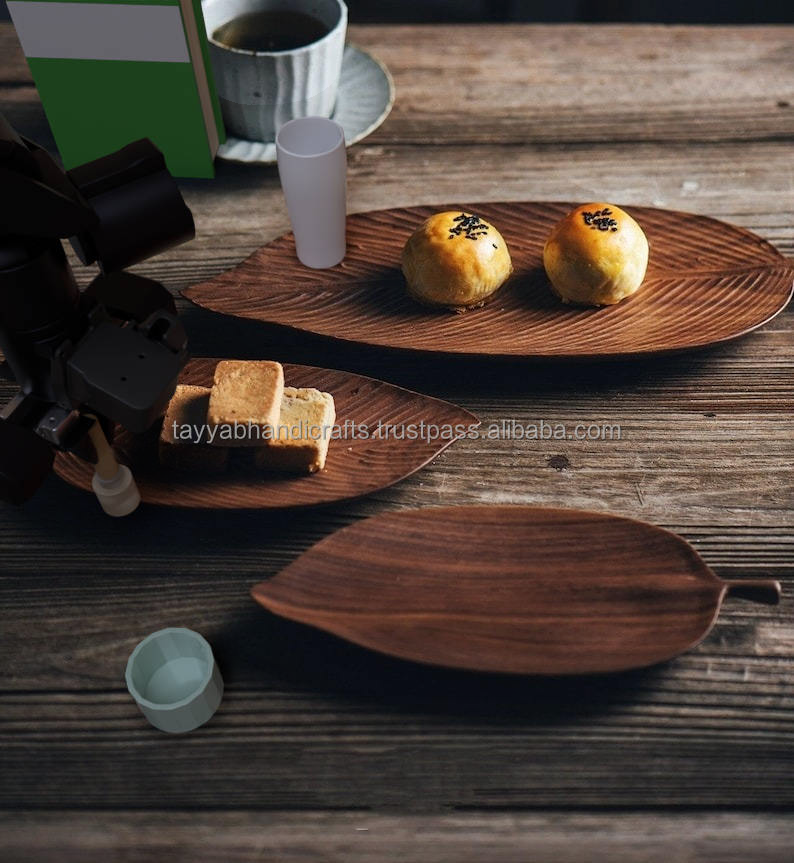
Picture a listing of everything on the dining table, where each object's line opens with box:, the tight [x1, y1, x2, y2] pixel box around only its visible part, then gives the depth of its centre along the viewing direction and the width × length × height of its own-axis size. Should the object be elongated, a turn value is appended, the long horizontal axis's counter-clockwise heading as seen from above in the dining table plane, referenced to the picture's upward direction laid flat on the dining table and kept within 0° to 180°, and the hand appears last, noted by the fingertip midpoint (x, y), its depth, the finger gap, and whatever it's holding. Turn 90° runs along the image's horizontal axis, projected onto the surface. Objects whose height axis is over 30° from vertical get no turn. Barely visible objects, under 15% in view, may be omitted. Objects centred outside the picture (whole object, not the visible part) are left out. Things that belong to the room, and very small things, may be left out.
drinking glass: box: [274, 115, 348, 270], centre depth 94 cm, size 7×7×15 cm
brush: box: [83, 414, 141, 517], centre depth 70 cm, size 3×3×10 cm
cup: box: [124, 627, 225, 734], centre depth 68 cm, size 6×6×5 cm
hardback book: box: [5, 0, 228, 179], centre depth 102 cm, size 18×7×24 cm, turn 85°
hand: (99, 452), depth 68 cm, fingers closed on brush, 2 cm apart
